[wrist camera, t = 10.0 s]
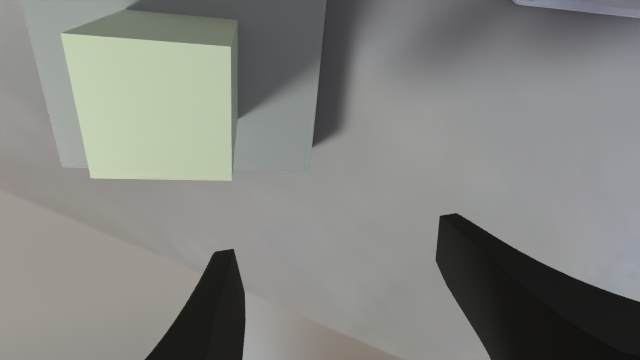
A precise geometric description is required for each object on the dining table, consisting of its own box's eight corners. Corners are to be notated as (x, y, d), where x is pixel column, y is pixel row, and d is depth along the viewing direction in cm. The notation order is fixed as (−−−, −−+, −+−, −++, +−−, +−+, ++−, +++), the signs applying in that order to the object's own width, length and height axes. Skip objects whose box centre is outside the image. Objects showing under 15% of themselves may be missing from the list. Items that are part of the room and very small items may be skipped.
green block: (237, 19, 16) (230, 46, 11) (237, 119, 18) (231, 180, 13) (124, 9, 16) (60, 33, 10) (138, 115, 18) (91, 178, 13)
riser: (321, -42, 18) (331, -43, 16) (303, 152, 23) (309, 172, 21) (34, -78, 16) (-1, -84, 14) (82, 145, 20) (62, 167, 18)
